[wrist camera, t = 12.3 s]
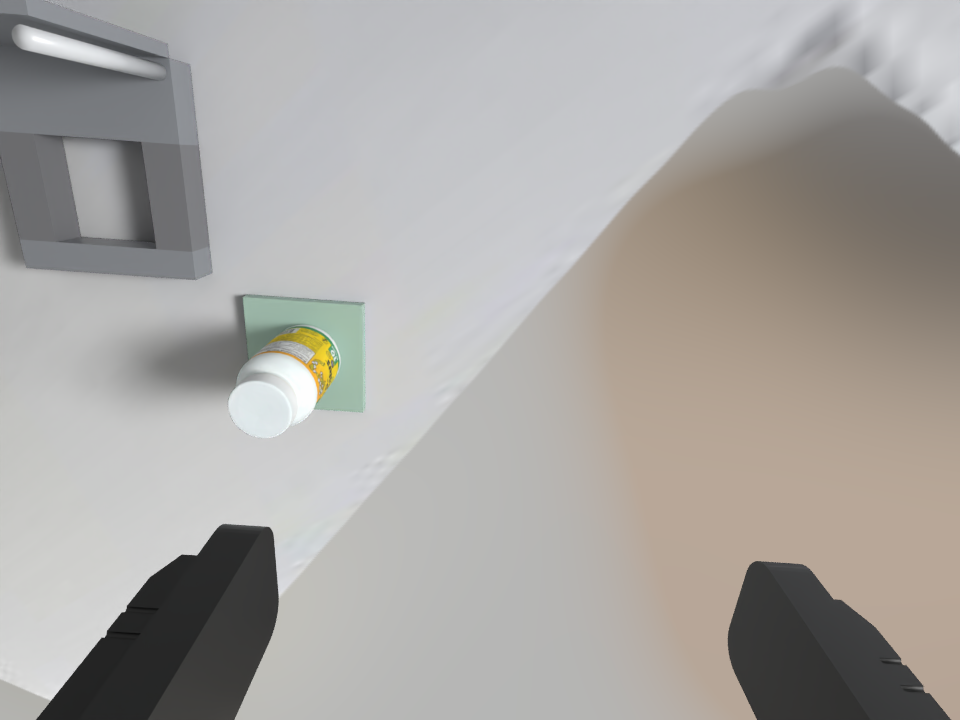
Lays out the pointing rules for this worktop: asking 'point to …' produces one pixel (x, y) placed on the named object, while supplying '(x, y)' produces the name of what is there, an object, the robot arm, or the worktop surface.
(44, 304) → the worktop surface
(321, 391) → the supplement bottle
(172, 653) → the robot arm
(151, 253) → the case
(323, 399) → the pad
